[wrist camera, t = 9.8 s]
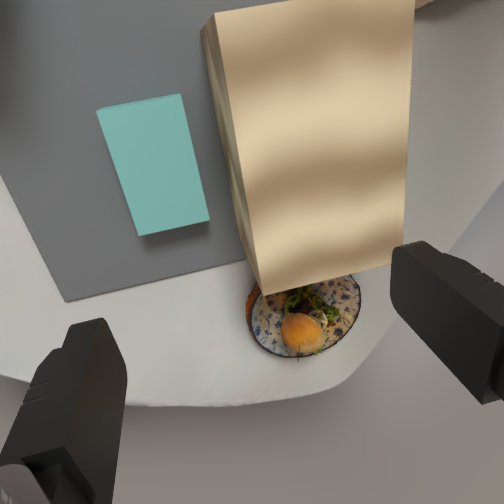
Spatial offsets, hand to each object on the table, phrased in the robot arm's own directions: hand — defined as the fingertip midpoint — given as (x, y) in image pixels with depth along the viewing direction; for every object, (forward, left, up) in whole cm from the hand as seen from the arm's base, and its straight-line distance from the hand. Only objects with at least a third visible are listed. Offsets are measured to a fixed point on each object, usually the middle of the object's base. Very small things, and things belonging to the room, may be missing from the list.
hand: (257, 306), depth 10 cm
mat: (-1, -1, -21) cm, 21 cm away
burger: (+17, +7, -21) cm, 28 cm away
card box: (0, -3, -18) cm, 18 cm away
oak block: (0, +7, -21) cm, 22 cm away
